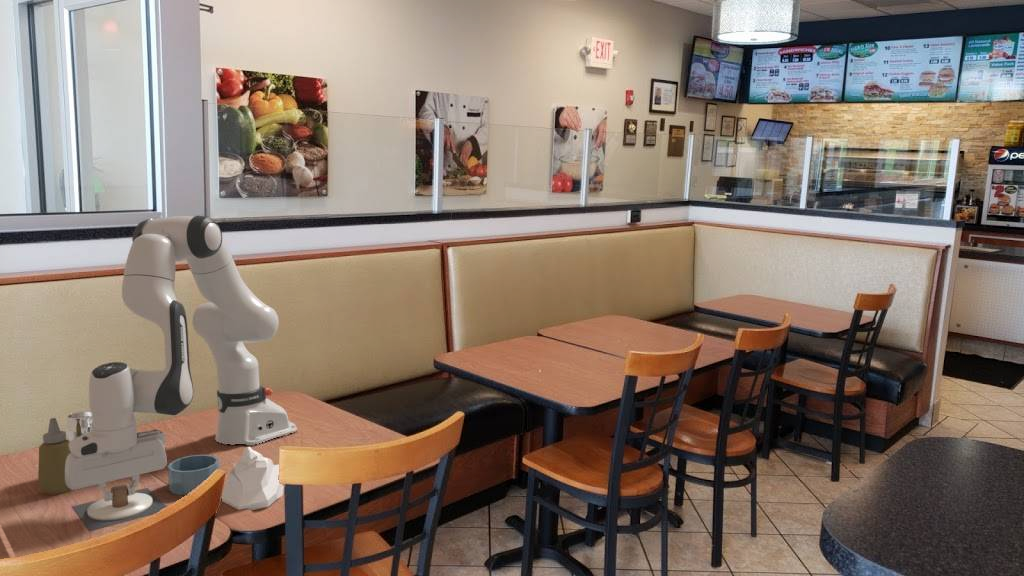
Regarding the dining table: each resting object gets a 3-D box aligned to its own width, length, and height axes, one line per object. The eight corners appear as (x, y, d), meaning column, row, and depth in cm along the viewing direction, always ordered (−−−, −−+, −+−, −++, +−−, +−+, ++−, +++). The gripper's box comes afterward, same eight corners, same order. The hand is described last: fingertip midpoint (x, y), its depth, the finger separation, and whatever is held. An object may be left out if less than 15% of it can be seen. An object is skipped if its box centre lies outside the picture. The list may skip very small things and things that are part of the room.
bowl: (210, 476, 194) (208, 451, 193) (226, 489, 186) (225, 463, 185) (163, 487, 187) (162, 462, 186) (179, 502, 179) (177, 475, 178)
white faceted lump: (293, 510, 178) (286, 459, 172) (223, 526, 173) (214, 473, 167) (286, 478, 189) (280, 428, 183) (221, 491, 184) (212, 441, 178)
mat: (147, 491, 185) (147, 487, 185) (169, 512, 173) (169, 509, 173) (72, 509, 175) (71, 506, 175) (90, 534, 163) (89, 530, 163)
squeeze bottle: (50, 486, 188) (43, 414, 185) (85, 485, 189) (79, 413, 186) (32, 499, 180) (25, 424, 178) (69, 498, 181) (62, 423, 178)
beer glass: (88, 478, 193) (83, 419, 191) (64, 475, 194) (59, 417, 192) (108, 467, 200) (103, 411, 198) (84, 465, 201) (79, 409, 199)
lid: (142, 491, 183) (141, 471, 182) (160, 509, 173) (159, 488, 173) (80, 506, 174) (79, 486, 174) (96, 526, 165) (94, 504, 164)
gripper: (160, 424, 181) (164, 481, 183) (60, 444, 167) (65, 505, 169) (168, 430, 176) (172, 489, 178) (66, 451, 163) (72, 514, 165)
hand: (119, 497), depth 173 cm, fingers closed on lid, 3 cm apart
